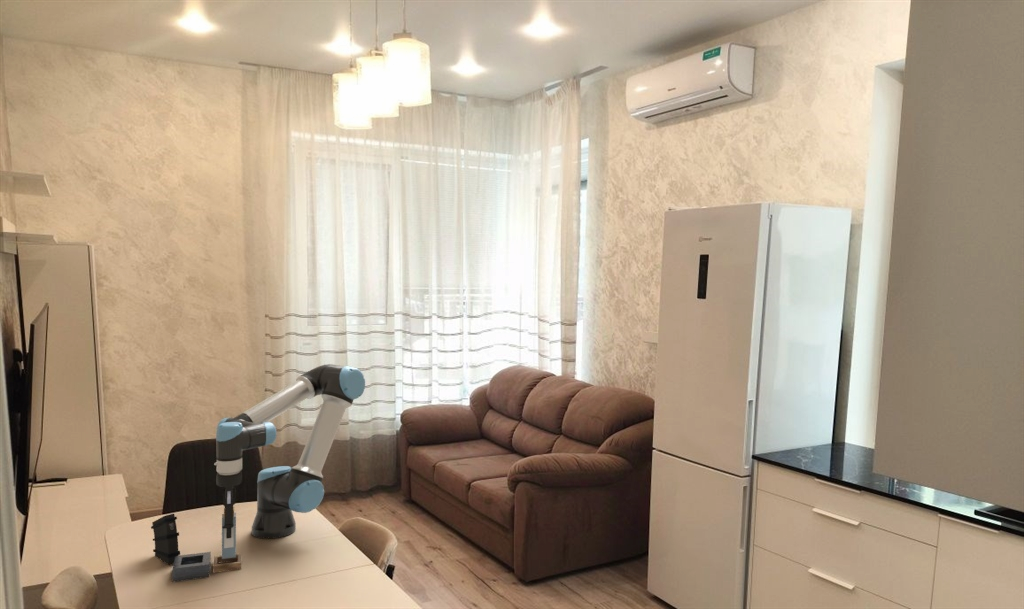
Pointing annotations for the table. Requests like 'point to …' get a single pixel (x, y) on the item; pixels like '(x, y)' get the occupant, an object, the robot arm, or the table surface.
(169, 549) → the magazine
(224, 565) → the brown square frame
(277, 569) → the table surface
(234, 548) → the plug
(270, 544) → the table surface
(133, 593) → the table surface
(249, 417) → the robot arm
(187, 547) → the table surface
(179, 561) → the port
